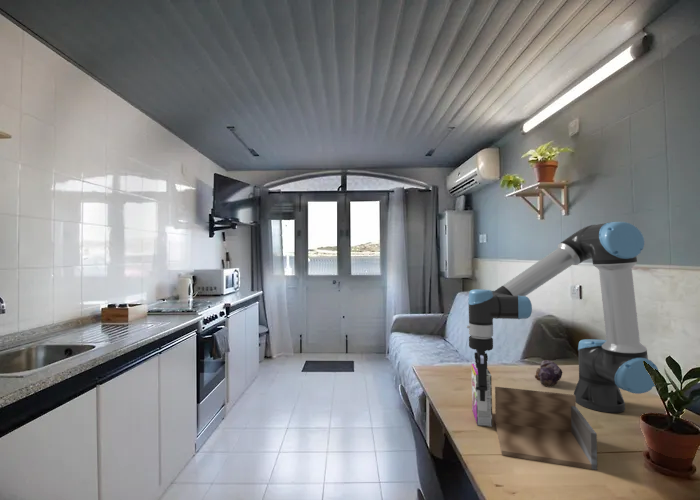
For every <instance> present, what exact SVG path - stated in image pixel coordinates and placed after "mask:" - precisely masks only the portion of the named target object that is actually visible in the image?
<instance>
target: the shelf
mask: <svg viewBox="0 0 700 500" xmlns="http://www.w3.org/2000/svg"><path fill="white" fill-rule="evenodd" d="M494 390H495V391H494V393H495V394H494V395H495V396H494V397H495V398H494V399H495V405H494V406H495V412H494V413H495V414H494V415H495V428H496V434H497V439H498V443H499V447H500V453H501V456H503V457H504V456H506V457H512V458H519V459H525V460H530V461H537V462H543V463H550V464H554V465H555V464H556V465H562V466H569V467H575V468H581V469H588V470H594V471H597V470H598V444H597V440H598V439H597V438H598V437H597V434H598V433H597V432H596V431H595V430H594V428H593V427H592V426H591V424H590V423H589V422H588V421H587V419H586V418H585V417H584V415H583V414H582V412H581V411H580V410H579V409H578V407H577V406H576V404H577V403H576V396H575V395H574V394H570V393H560V392H551V391H550V392H549V391H541V390H532V389H531V390H530V389H522V388H513V387H502V386H494Z"/></svg>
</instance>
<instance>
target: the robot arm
mask: <svg viewBox="0 0 700 500" xmlns="http://www.w3.org/2000/svg"><path fill="white" fill-rule="evenodd" d="M644 247H645V238H644V234H642V232H641V230H640V229H639V227H636V226H635V225H634V224H632V223H630V222H627V221H610V222H607V223H598V224H591V225H587V226H584V227H583V228H580V229H579V230H577V231H576V232H574V233H573V234H571V235H570V236H569V237H567V238H565V239H564V240H563V241H561V242H560V243H558V244H557V248H556V249H554V250H553V251H552V252H550V253H548V254H547V255H546V256H544V257H542V258H541V259H539V260H538V261H537V262H535V263H534V264H532V265H531V266H529V267H528V268H526V269H525V270H523V271H522V272H521V273H519V274H518V275H515V277H513V278H512V279H510V280H509V281H507V282H506V283H504V284H503V285H501V286H499V287H498V288H497V289H495V290H490V289H483V288H482V289H481V288H478V289H477V288H476V289H471V290H469V292H468V302H467V304H468V325H466V328H467V329H468V335H469V336H468V347H469V348H470V349H472V350H475V352H474V354H473V355H474V364H476V368H477V369H478V387H476V390H478V410H480V411H487V390H488V389H487V371H486V369H487V368H488V359H489V358H488V353H487V352H486V351H489V352H490V351H491V350H493V349H494V338H493V337H494V319H502V320H503V319H506V320H507V319H508V320H510V319H511V320H523V319H524V320H525V319H529V318H530V317H531V315H532V312H533V305H532V302H531V300H530V297H528V295H529V294H531V293H532V292H534V291H536V290H537V289H538V288H540V287H541V286H543V285H544V284H546V283H547V282H549V281H550V280H552V279H554V278H555V277H557V275H560V273H563V272H564V271H565V270H566V269H568V268H570V267H571V266H579V265H580V264H581V263H583V262H584V261H587V260H590V259H592V266H594V267H595V268H596V269H598V273H599V280H600V281H599V282H600V291H601V292H600V293H601V301H602V311H603V320H604V328H605V329H604V330H605V339H596V338H595V339H594V338H591V339H588V338H587V339H585V338H584V339H581V340H580V341H579V342H578V347H577V351H578V381H577V384H576V387H575V389H574V391H573V395H575V396H576V404H578V405H580V406H582V407H584V408H587V409H590V410H594V411H596V412H603V413H611V414H612V413H614V414H615V413H617V414H618V413H622V412H624V411H625V410H626V402H625V400H624V397H623V394H622V392H621V390H623V391H627V392H628V393H631V394H636V395H639V394H641V395H642V394H645V393H648V392H649V391H651V390H652V389H653V388H654V387H655V386H656V385H654V383H653V381H652V379H651V377H650V375H649V374H648V372H647V371H646V369H645V367H644V364H643V361H645V362H646V363H647V364H649V365H650V366H651V367H652V368H654V369H656V370H658V371H659V369H658V366H657V365H656V363H654V362H653V361H652V360H650V359H649V357H648V349H647V347H646V346H645V345H643V344H642V343H641V340H640V339H641V338H640V331H639V322H638V313H637V306H636V305H637V303H636V295H635V286H634V278H633V277H634V276H633V269H632V268H633V267H634V266H635V265H637V263H638V257H637V256H639V255H640V254H641V251H643V250H644ZM659 372H660V371H659Z"/></svg>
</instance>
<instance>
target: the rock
mask: <svg viewBox="0 0 700 500" xmlns="http://www.w3.org/2000/svg"><path fill="white" fill-rule="evenodd" d="M539 367H540V368H537V369H536V371H535V372H536V373H535V375H534V378H535V379H536V380H538V381H540V384H541V385H542V386H544V387H552V386H553V385H557V383H558V382H559V381H560V380H561V379H562V376H563V373H564V372H563V370H562V369H561V368H560V367H559V365H558V364H557V363H556V362H554V361H552V360H549V359H545V360H542V361H541V363H540V366H539Z"/></svg>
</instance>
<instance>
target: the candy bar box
mask: <svg viewBox="0 0 700 500" xmlns="http://www.w3.org/2000/svg"><path fill="white" fill-rule="evenodd" d="M486 371H487V389H488V390H487V411H480V410H478V390H476V387H478V369H477V368H476V363H471V399H472V400H471V405H472V407H471V409H472V413H473V417H474V420H475V423H476V425H477V426H480V427H490V428H492V427H493V395H492V394H493V393H492V392H493V390H492V389H493V388H492V385H493V384H492V374H491V372H490V371H489V368H488V367H487V369H486Z"/></svg>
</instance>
